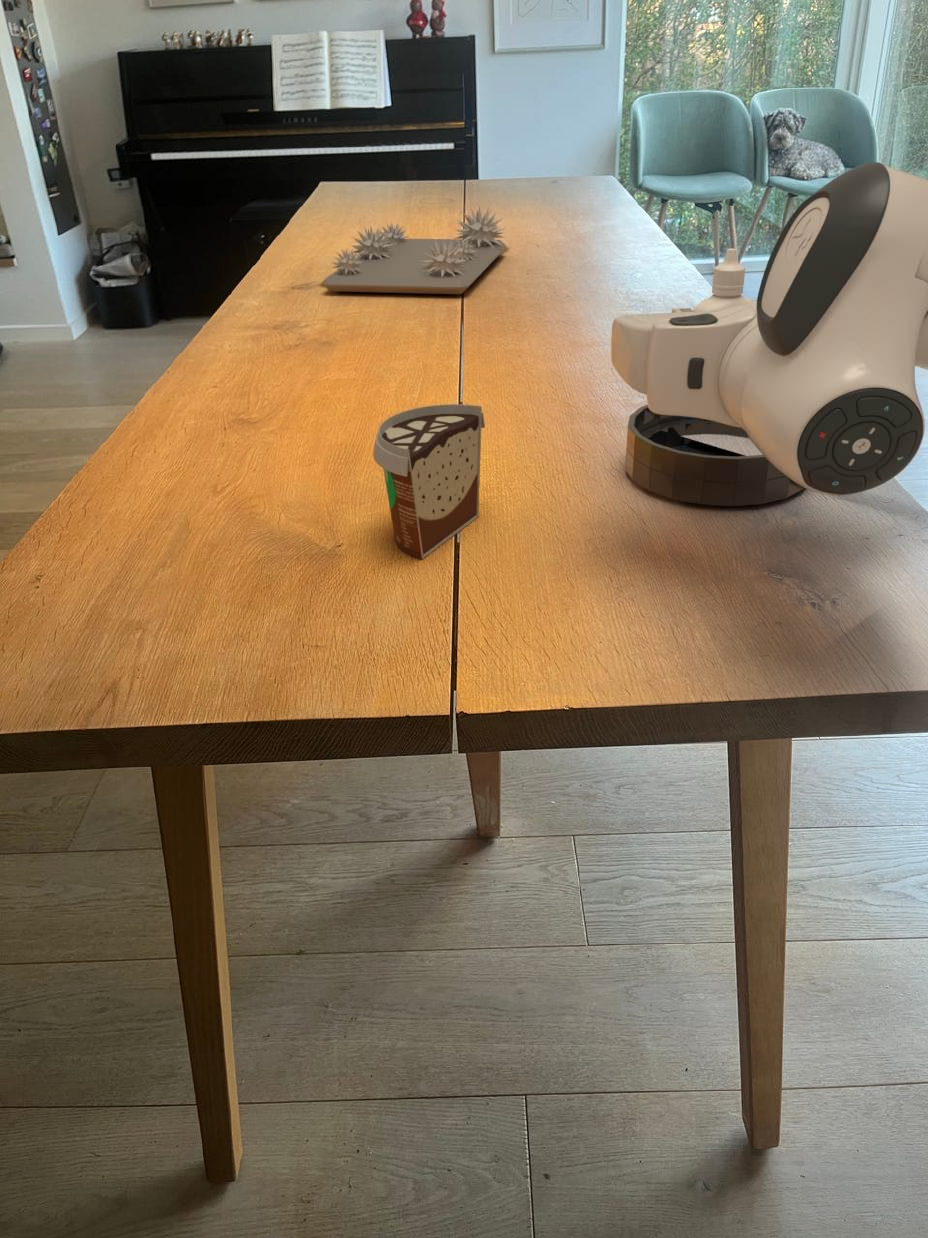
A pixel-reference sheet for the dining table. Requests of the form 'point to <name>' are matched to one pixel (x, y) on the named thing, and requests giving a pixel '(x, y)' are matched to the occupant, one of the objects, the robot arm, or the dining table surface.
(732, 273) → the eye dropper bottle
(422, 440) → the food container
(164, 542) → the dining table surface
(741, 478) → the faceted ring band
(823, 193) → the robot arm
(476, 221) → the decorative tray
